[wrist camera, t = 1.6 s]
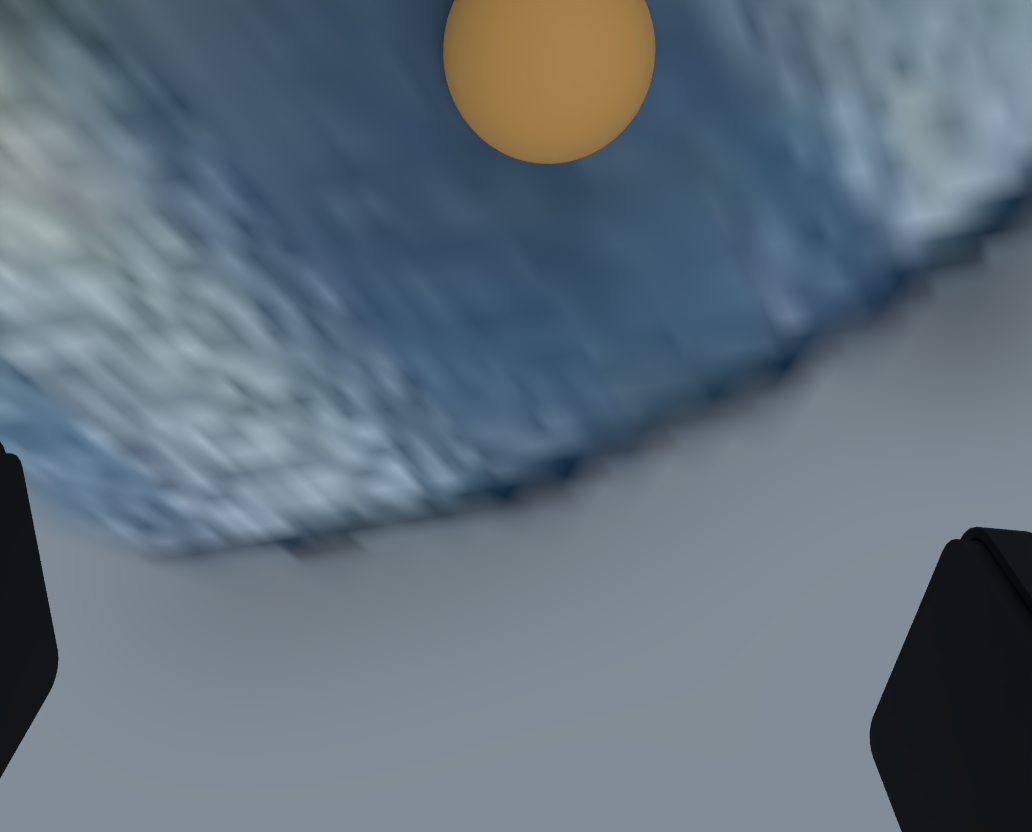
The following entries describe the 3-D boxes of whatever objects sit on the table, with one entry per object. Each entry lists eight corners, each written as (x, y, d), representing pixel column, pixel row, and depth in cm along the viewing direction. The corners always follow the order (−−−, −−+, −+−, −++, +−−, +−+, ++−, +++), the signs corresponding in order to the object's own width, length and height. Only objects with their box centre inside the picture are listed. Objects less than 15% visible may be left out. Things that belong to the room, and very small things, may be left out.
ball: (500, 162, 29) (499, 226, 24) (414, -15, 26) (393, 19, 22) (669, 81, 28) (703, 133, 23) (596, -112, 25) (616, -99, 20)
